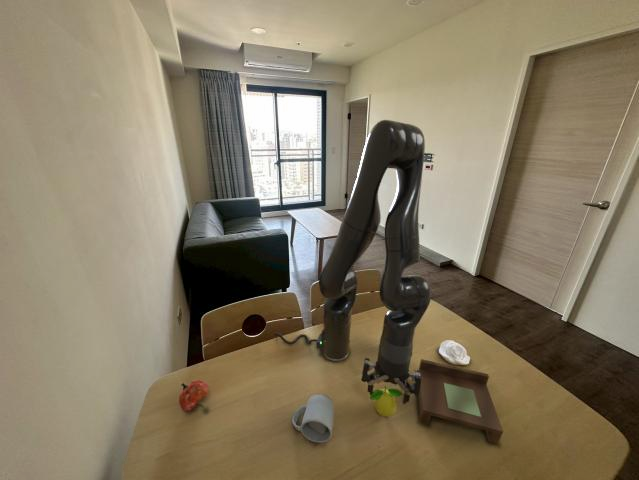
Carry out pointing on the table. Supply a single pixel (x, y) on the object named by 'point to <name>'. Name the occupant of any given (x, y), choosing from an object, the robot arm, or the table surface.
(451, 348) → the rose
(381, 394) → the lemon
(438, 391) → the wooden serving tray
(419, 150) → the robot arm
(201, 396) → the red rounded piece
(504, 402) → the table surface
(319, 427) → the ceramic mug
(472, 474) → the table surface
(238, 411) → the table surface
